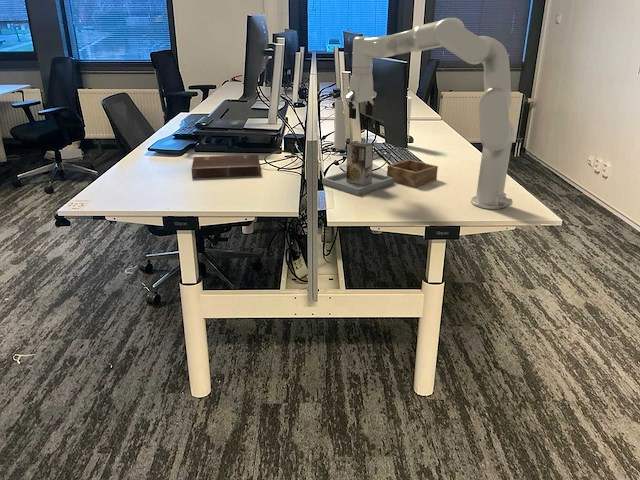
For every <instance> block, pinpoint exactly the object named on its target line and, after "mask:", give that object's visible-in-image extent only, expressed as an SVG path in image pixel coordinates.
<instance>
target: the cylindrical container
mask: <svg viewBox="0 0 640 480" xmlns="http://www.w3.org/2000/svg"><path fill="white" fill-rule="evenodd" d="M407 97H408V142H409V141H410V140H409V138H410V126H411V125H410V123H411V114H412V99H413V98H412V97H411V96H407Z"/></svg>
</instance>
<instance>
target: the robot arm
mask: <svg viewBox="0 0 640 480" xmlns="http://www.w3.org/2000/svg"><path fill="white" fill-rule="evenodd" d="M442 47H443V48H444V49H446V50H447V51H449V53H452V54H453V55H455V56H456V57H458V58H459V59H461V60H462V61H464V62H465V63H468V64H470V65H478V64H482V66H483V84H484V90H483V91H484V92H483V94H482V96H481V97H480V99H479V102H478V123H479V124H478V125H479V126H478V127H479V138H480V139H479V140H480V144H481V145H482V153H481V159H480V164H479V165H480V166H479V173H478V178H477V179H478V180H477V187H476V195H475V196H473V197H472V198H471V200H470V201H471V204H472V205H473V206H475V207H478V208H481V209H488V210H500V209H503V208H506V206H510V207H511V206H513V202H514V201H513V198H509V197H507V193H505V187H506V181H507V180H506V179H507V174H508V168H509V162H510V157H511V150H512V144H513V140H514V135H515V129H514V126H513V125H514V124H512V122H511V121H510V119H509V110H510V108H511V106H512V101H513V99H512V88H511V86H512V85H511V84H512V83H511V74H510V73H511V72H510V71H511V69H510V66H511V65H510V58H509V54H508V52H507V50H506V47H505V46H504V45H503V43H501V42H500V41H498V40H497V39H495V38H493V37H491V36H488V35H477V34H476V33H474V32H472V31H470V30H469V29H467V28H466V26H465V25H464V21H462V20H461V19H460V18H458V17H446V18H444V19H441V20H437V21H434V22H428V23H425V24H421V25H417V26H414V27H413V28H412V29H410V30H405V31H402V32H397V33H394V34H389V35H382V36H376V37H375V36H374V37H372V36H367V35H366V36H362V35H361V36H355V37H354V38H353V40H352V65H351V66H352V68H351V70H352V74H351V75H350V79H349V86H348V94H347V95H346V96H344V97H345V99H346V102H347V105H348V108H349V118H352V119H356V108H355V107H356V105H357V103H366V104H365V112H364V113H365V115H366V116H370V117H371V116H373V111H374V110H373V107H374V105H375V101H376V99H377V94H378V93H377V91H375V90H374V78H373V76H374V75H373V58H374V59H385V58H389V57H394V56H397V55H398V56H399V55H403V54H407V53H412V52H417V53H419V52H423V51H428V50H432V49H436V48H442ZM353 103H354V104H353Z"/></svg>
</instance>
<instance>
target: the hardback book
mask: <svg viewBox="0 0 640 480" xmlns="http://www.w3.org/2000/svg"><path fill="white" fill-rule="evenodd" d="M261 172H262V171H261V162H260V158H259V154H243V155H241V154H240V155H209V156H193V160H192V165H191V177H192V179H211V178H212V179H215V178H217V179H218V178H236V177H238V178H239V177H260V176H261V175H262V174H261Z"/></svg>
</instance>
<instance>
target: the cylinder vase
mask: <svg viewBox="0 0 640 480" xmlns="http://www.w3.org/2000/svg"><path fill="white" fill-rule="evenodd" d="M342 97H343V96H339V97H336V98H334V130H333V131H334V138H333V139H334V141H333V147H334V148H335V149H336V150H339V151H347V150H346V149H345V130H344V113H343V101H342Z"/></svg>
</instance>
